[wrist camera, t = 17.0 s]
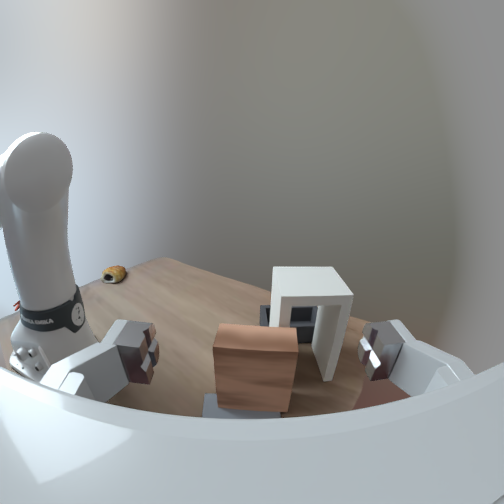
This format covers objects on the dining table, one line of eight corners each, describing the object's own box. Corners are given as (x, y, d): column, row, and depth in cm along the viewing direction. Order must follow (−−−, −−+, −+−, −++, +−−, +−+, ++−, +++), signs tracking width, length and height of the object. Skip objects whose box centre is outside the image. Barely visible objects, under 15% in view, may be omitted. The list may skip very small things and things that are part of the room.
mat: (198, 454, 27) (198, 452, 27) (205, 395, 37) (205, 393, 37) (285, 454, 27) (285, 452, 27) (277, 395, 37) (277, 393, 37)
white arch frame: (272, 384, 40) (281, 296, 34) (267, 347, 49) (273, 266, 44) (331, 380, 40) (353, 294, 35) (318, 345, 50) (332, 266, 44)
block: (223, 384, 39) (219, 323, 35) (286, 388, 38) (296, 327, 35) (217, 407, 34) (212, 346, 30) (287, 412, 34) (298, 351, 30)
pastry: (113, 271, 80) (111, 260, 78) (131, 272, 80) (129, 261, 78) (100, 283, 71) (97, 271, 69) (119, 285, 71) (117, 273, 70)
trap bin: (262, 343, 50) (263, 327, 49) (259, 321, 58) (260, 305, 56) (322, 341, 51) (325, 325, 49) (313, 320, 58) (316, 304, 57)
